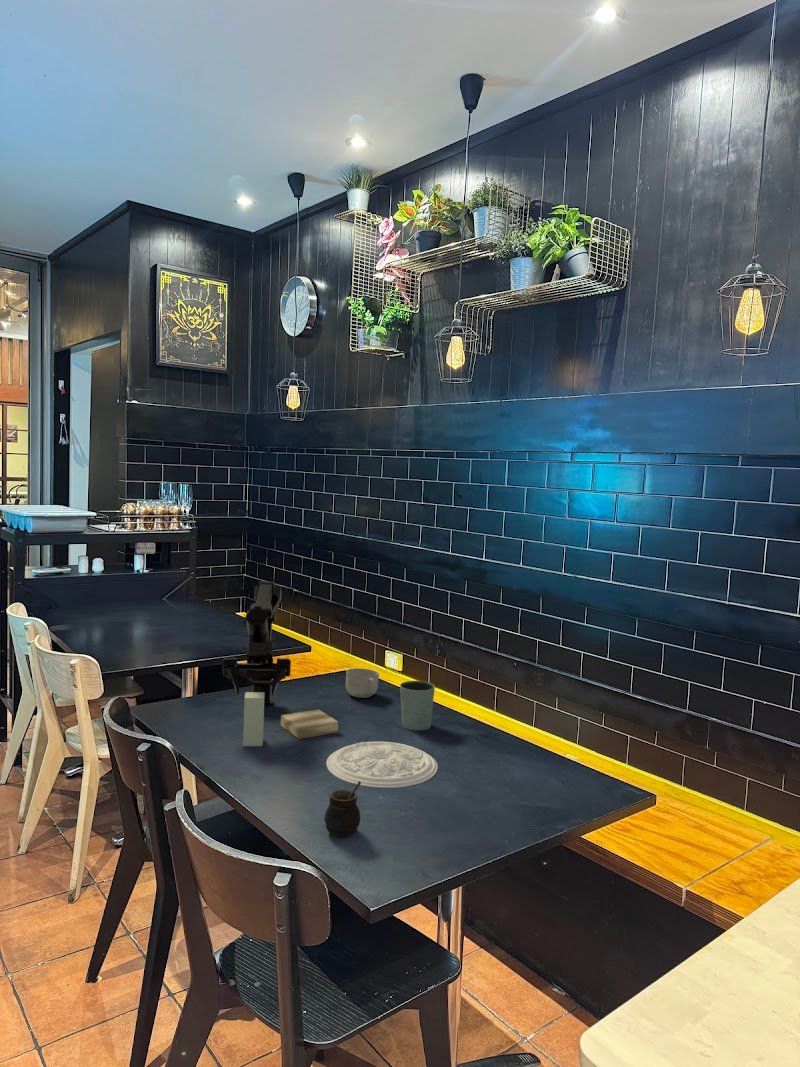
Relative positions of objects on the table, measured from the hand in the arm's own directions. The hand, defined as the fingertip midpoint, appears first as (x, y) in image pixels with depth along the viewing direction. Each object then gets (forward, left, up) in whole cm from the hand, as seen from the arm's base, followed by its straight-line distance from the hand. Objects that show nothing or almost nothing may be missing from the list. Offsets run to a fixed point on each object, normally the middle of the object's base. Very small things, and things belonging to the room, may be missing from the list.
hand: (255, 694), depth 206 cm
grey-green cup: (+13, +45, -12) cm, 48 cm away
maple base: (+2, +16, -11) cm, 20 cm away
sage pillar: (+5, -2, -11) cm, 13 cm away
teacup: (-17, +45, -12) cm, 50 cm away
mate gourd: (+59, -5, -12) cm, 60 cm away
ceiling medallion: (+33, +21, -12) cm, 41 cm away
